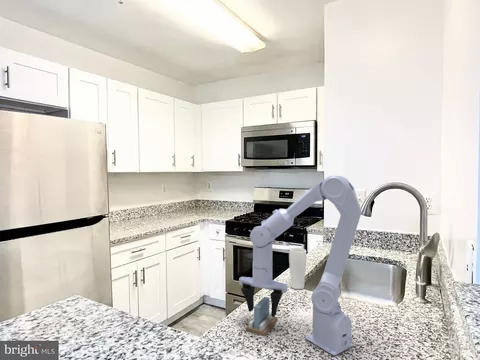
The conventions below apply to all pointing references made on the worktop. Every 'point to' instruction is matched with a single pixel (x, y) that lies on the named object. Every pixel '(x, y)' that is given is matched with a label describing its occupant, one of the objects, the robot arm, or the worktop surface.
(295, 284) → the drinking glass
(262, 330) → the bottom track
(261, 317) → the door panel
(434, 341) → the worktop surface
